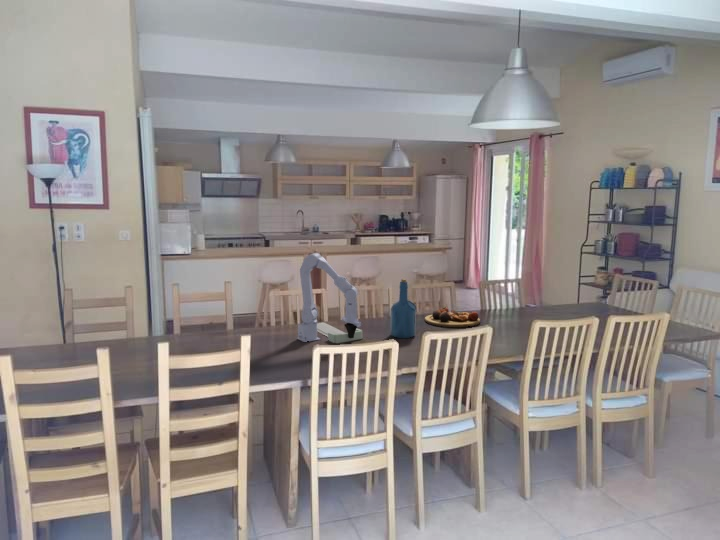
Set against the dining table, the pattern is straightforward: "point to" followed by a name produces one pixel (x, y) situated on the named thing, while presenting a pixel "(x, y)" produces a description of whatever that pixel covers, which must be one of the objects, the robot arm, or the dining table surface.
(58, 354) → the dining table surface
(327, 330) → the baseboard molding
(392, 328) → the wine bottle
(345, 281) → the robot arm
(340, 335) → the end cap
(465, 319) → the wooden plate with food
